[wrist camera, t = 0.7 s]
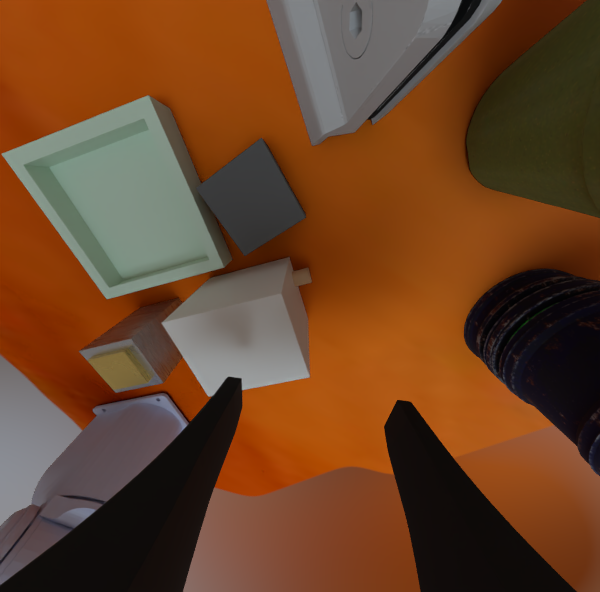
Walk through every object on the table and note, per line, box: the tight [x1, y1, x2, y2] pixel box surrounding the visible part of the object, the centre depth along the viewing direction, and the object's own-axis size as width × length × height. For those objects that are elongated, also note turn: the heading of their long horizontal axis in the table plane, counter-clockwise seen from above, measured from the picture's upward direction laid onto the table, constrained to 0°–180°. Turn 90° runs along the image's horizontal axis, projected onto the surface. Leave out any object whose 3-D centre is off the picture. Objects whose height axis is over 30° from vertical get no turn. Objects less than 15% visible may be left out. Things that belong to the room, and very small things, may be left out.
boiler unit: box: [162, 257, 312, 397], centre depth 16 cm, size 8×6×7 cm
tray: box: [2, 95, 233, 299], centre depth 15 cm, size 10×10×2 cm
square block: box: [196, 138, 306, 256], centre depth 15 cm, size 5×5×2 cm
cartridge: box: [79, 298, 183, 393], centre depth 18 cm, size 4×4×6 cm
